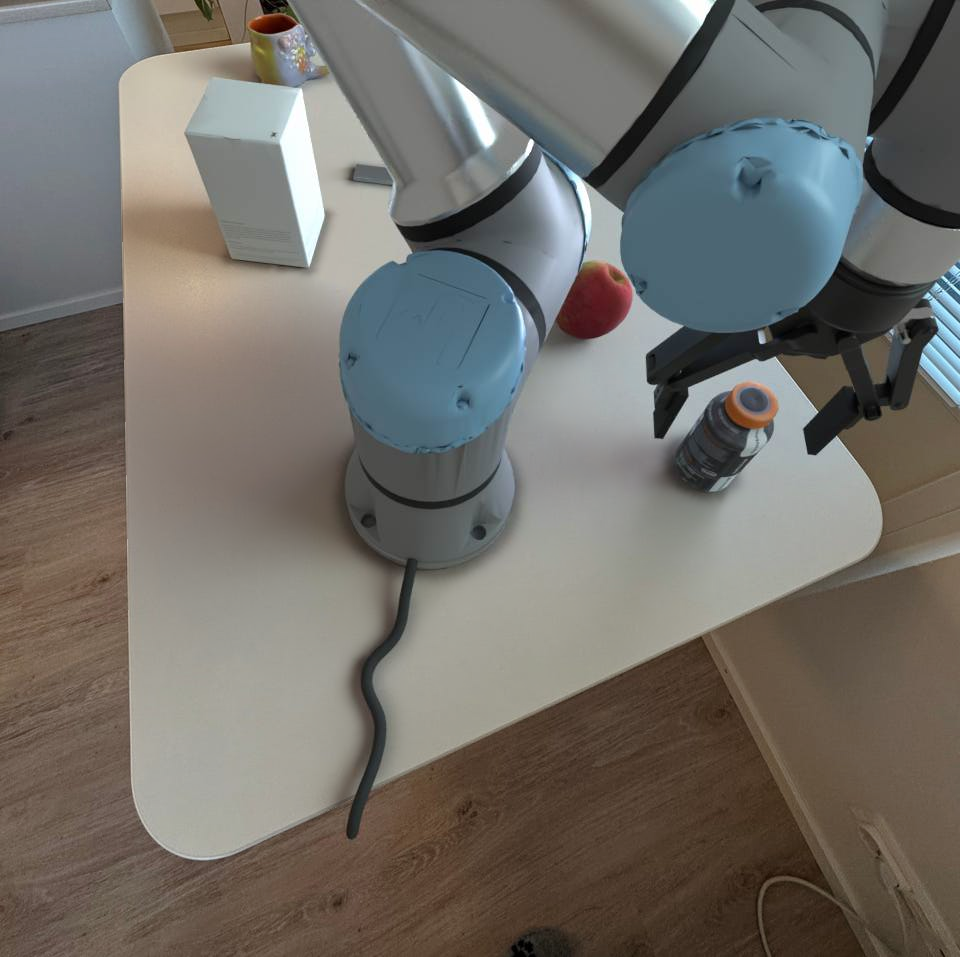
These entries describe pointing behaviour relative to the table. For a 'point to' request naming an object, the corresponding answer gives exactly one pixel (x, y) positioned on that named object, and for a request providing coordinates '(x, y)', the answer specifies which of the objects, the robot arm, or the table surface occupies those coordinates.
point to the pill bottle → (727, 436)
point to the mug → (282, 51)
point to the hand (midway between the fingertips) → (733, 434)
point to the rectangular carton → (258, 170)
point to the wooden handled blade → (372, 174)
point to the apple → (595, 301)
